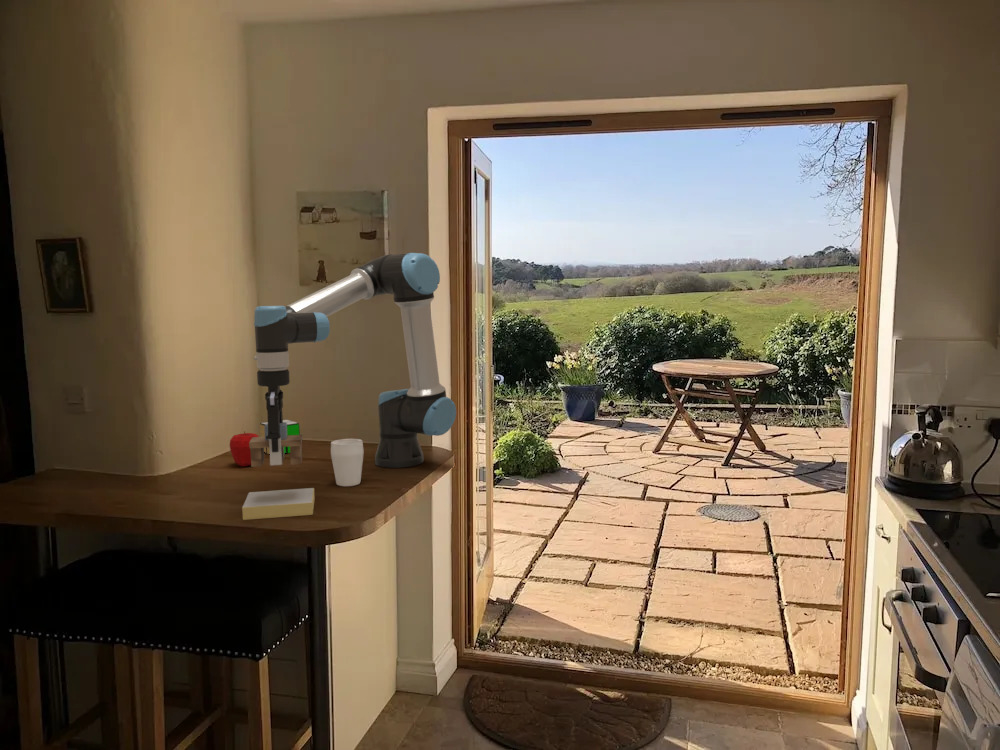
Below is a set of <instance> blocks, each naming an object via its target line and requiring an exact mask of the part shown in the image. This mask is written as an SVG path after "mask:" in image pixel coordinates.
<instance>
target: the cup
mask: <svg viewBox="0 0 1000 750" xmlns="http://www.w3.org/2000/svg"><path fill="white" fill-rule="evenodd" d="M363 443H364V441H363V440H362V439H360V438H342V439H341V438H340V439H335V440H333V441H331V442H330V457H331V461H332V462H331V463H332V467H333V471H334V477H335V484H336V485H337V486H339V487H354V486H357V485H358V486H359V485H360V483H361V480H362V479H361V478H362V471H363V463H364V451H365V450H364V444H363Z"/></svg>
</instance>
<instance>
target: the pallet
mask: <svg viewBox="0 0 1000 750" xmlns="http://www.w3.org/2000/svg"><path fill="white" fill-rule="evenodd" d="M302 442H303V435H302V434H300V435H287V439H284V440H281V452H282V463H283V461H284V458H283V447H288V446H290V455H289V456H290V465H301V464H302V461H303V443H302ZM249 447H250V450H251V465H250V467H251V468H253V467H255V468H256V467H263V464H264V462H265V453H264V448H269V440H265V437H260V436H259V437H252V439H251V440H250V442H249ZM270 466H272V467H273V466H275V465H270Z"/></svg>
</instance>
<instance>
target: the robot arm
mask: <svg viewBox="0 0 1000 750" xmlns="http://www.w3.org/2000/svg"><path fill="white" fill-rule="evenodd" d="M440 281H441V274H440V269H439V267H438V265H437V263H436V261H435V260H434V259H432V258H431V256H429V255H428V254H425V253H420V252H408V253H395V254H386V255H382V256H379V257H376V258H374V259H372V260H370V261H368V262H366V263H365V264H362V265H360V266H358V267H356V268H354V269H352V270H351V272H350V275H347V276H345V277H344V278H342V279H339V280H337V281H335V282H333V283H331V284H329V285H326V286H325V287H323V288H321V289H319V290H316V291H315V292H313V293H310V294H308V295H306V296H304V297H302V298H300V299H298V300H296V301H294V302H292V303H290V304H288V305H286V306H284V305H260V306H256V307H255V308H254V316H253V318H254V319H253V320H254V323H253V326H254V337H255V338H254V339H255V340H254V341H255V352H256V353H255V354H256V355H254V357H253V359H254V360H255V361H256V368H257V369H259V370H258V371H257V373H256V376H257V378H256V379H257V386H259V387H267V390H268V391H267V392H266V393H265V401H266V402H265V403H266V411H267V414H266V415H267V422H268V436H266V439H269V450H270V455H269V466H271V465H274V466H282V465H283V462H282V452H281V438H280V423H283V420H284V419H283V417H284V416H283V408H284V402H283V399H284V392H283V391H282V389H281V388H280V387H282V386H288V385H289V384H290V381H291V380H290V370H289V369H287V368H289V367H290V357H289V344H301V343H302V344H303V343H316V342H322V341H325V340H326V339H328V337H329V335H330V332H331V331H330V330H331V327H330V326H331V325H330V324H331V323H330V320H329V318H328V317H330V316H332V315H333V314H336V313H338V312H339V311H341V310H343V309H345V308H347V307H349V306H351V305H353V304H355V303H356V302H358V301H361V300H362V299H363V300H365V301H366V300H367V301H368V300H370V299H372V298H374V297H377V296H378V297H379V296H383V295H393V302H394V304H395V305H396V306H398V307H399V309H400V315H401V322H402V323H401V324H402V329H403V339H404V343H405V344H404V346H405V353H406V354H405V355H406V359H407V361H406V362H407V367H408V376H409V383H410V387H409V388H402V389H396V390H395V389H394V390H388V391H383V392H381V393H380V394H379V396H378V404H377V407H378V422H379V423H378V426H379V442H378V444H377V450H376V452H375V455H374V456H375V457H374V464H375V465H376V466H378V467H380V468H381V467H382V468H387V469H388V468H391V469H392V468H393V469H394V468H395V469H396V468H401V469H402V468H410V467H416V466H418V465H421V464H423V463H424V453H423V450H422V447H421V443H420V442H419V439H418V434H420V435H421V434H422V435H425V436H429V437H430V436H431V437H432V436H437V437H438V436H443V435H445V434H446V433H448V432H449V431H450V430H451V428H452V427H453V425H454V423H455V421H456V416H457V408H456V404H455V402H454V401H453V400H452V399H451V398H449V397H448V396H447V391H446V387H445V386H444V385H442V384H441V383H440V377H439V370H438V369H439V368H438V359H437V354H436V344H435V337H434V329H433V321H432V313H431V311H432V310H431V303H432V301H433V300H434V299H435V296H434V292H436V290H438V288H439V284H440ZM272 432H273V433H272ZM283 459H285V454H284V447H283Z"/></svg>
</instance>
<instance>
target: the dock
mask: <svg viewBox="0 0 1000 750" xmlns="http://www.w3.org/2000/svg"><path fill="white" fill-rule="evenodd" d="M315 501H316V500H315V488H314V487H308V488H307V487H305V488H293V489H290V488H289V489H277V490H267V491H266V490H265V491H264V490H263V491H262V490H261V491H250V492H248V493H247V496H246V499H245V501H244V503H243V505H242V506H241V509H242V521H247V520H260V519H261V520H262V519H273V518H274V519H275V518H288V517H299V516H311V515H314V506H315Z"/></svg>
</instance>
